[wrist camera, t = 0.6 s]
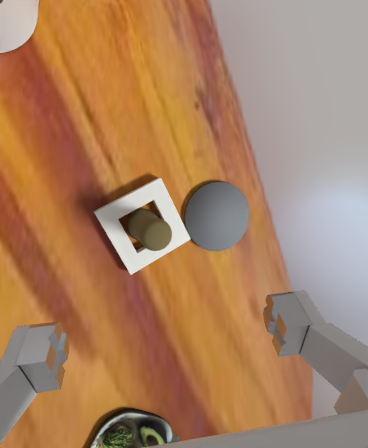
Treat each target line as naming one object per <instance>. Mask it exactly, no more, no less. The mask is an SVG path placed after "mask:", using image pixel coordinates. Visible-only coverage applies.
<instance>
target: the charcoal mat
mask: <svg viewBox="0 0 368 448" xmlns="http://www.w3.org/2000/svg"><path fill="white" fill-rule="evenodd" d="M248 222H249V206H248V203H247V200H246V198H245V196H244V195H243V193H242V192H241V191H240V190H239V189H238V188H237V187H235V186H234V185H231V184H229V183H225V182H213V183H209V184H206V185H204V186H202V187H201V188H199V189H198V190H197V191H196V192H195V193H194V194H193V195H192V197H191V198H190V200H189V202H188V204H187V207H186V211H185V226H186V229H187V232H188V234H189V236H190V238H191V239H192V240H193V241H194V242H195V243H196V244H197V245H198V246H200V247H202V248H204V249H206V250H209V251H222V250H226V249H228V248H230V247H232V246H233V245H235V244H236V243H237V242H238V241H239V240H240V239H241V238H242V236H243V235H244V233H245V231H246V229H247V226H248Z"/></svg>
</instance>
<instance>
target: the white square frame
mask: <svg viewBox="0 0 368 448" xmlns="http://www.w3.org/2000/svg"><path fill="white" fill-rule="evenodd" d="M151 201H153V203H154V205H155V207H156V209H157V211H158V213H159V215H160V217H161V219H163V220H164V221H166V222H167V223H168V224H169V225H170V228H171V230H172V238H171V242H170V243H169V245H168V246H167V247H166V248H164V249H162V250H160V251H151V250H148V249H147V248H145V247H144V246H143V247H141V248H139V249H138V250H135V248H134V247H133V245H132V243H131V241H130V240H129V238H128V236H127V234H126V232H125V231H124V229H123V227H122V225H121V224H120V222H119V220H118V219H119V218H121V217H123V216H125V215H127V214H129V213H130V212H132V211H134V210H136V209H138V208H140V207H141V206H143V205H145V204H147V203H149V202H151ZM94 213H95V215H96V217H97V218H98V220H99V222H100V223H101V225H102V227H103V228H104V230H105V232H106V234H107V235H108V237H109V239H110V240H111V242H112V244H113V245H114V247H115V249H116V251H117V252H118V254H119V256H120V257H121V259H122V261H123V262H124V264H125V266H126V268H127V269H128V271H129V273H130V274H133V273H135V272H137V271H138V270H140V269H142V268H143V267H145V266H147V265H148V264H150V263H152V262H153V261H155V260H157V259H158V258H160V257H162V256H163V255H165V254H167V253H168V252H170V251H172V250H173V249H175V248H177V247H178V246H180V245H182V244H183V243H185V242H187V241H188V240H190V237H189V235H188V232H187V230H186V228H185V226H184V224H183V222H182V220H181V218H180V216H179V214H178V212H177V210H176V208H175V206H174V204H173V202H172V200H171V198H170V196H169V193H168V191H167V189H166V187H165V185H164V183H163V181H162V179H161V178H156V179H154V180H153V181H151V182H149V183H147V184H145V185H143V186H141V187H139V188H137V189H135V190H133V191H131V192H130V193H128V194H126V195H124V196H122V197H120V198H118V199H116V200H114V201H112V202H110V203H109V204H107V205H105V206H103V207H101V208H99V209H97V210H95V211H94Z"/></svg>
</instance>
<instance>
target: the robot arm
mask: <svg viewBox="0 0 368 448" xmlns="http://www.w3.org/2000/svg"><path fill="white" fill-rule="evenodd" d="M38 5H39V0H0V53H4V52H8V51H11V50H14V49H16V48H18V47H20V46H21V45H22V44H24V43H25V42H26V41H27V40H28V39H29V38H30V36H31V35H32V33H33V31H34V29H35V27H36V23H37V19H38ZM266 303H267V306H266V307H265V308H264V312H263V316H264V322H265V326H266V328H267V331H268V332H269V333H270V334H272V335H273V339H272V343H273V345H274V347H275V349H276V352H277V354H278V356H279V357H281V356H290V355H298V354H300V356H301V357H302V358H303V359H304V360H305V361H306V362H307V363H308V364H310V365H311V366H312V367H313V368H314V369H315V370H316V371H317V372H318V373H319V374H321V375H322V376H323V377H324V378H325V379H326V380H327V381H328V382H329V383H331V384H332V385H333V386H334V387H335V388H336V389H337V390H338V391H339V392H341V394H340V396H339V398H338V400H337V402H336V403H335V406H334V408H335V410H336V412H337V414H338V415H334V416H328V417H323V418H316V419H310V420H304V421H298V422H292V423H286V424H280V425H274V426H269V427H263V428H257V429H251V430H245V431H239V432H233V433H227V434H221V435H215V436H209V437H203V438H197V439H191V440H185V441H179V442H173V443H167V444H161V445H155V446H149V447H144V448H368V347H367V346H366V345H364V344H363V343H361V342H360V341H358V340H356V339H355V338H353V337H352V336H350V335H348V334H347V333H345V332H344V331H342V330H341V329H339V328H337V327H336V326H334V325H333V324H331V323H326V321H325V320H324V319H323V317H322V315H321V314H320V312H319V311H318V309H317V308H316V306H315V305H314V303H313V301H312V300H311V298H310V297H309V295H308V294H307V292H306V291H304V290H302V291H294V292H284V293H277V294H270V295H267V297H266ZM62 330H63V326H62V324H61V322H53V323H43V324H34V325H25V326H18V327H17V328H16V329H15V330H14V332H13V334H12V336H11V339H10V341H9V343H8V346H7V348H6V350H5V353H4V355H3V357H2V360H1V362H0V444H1V442H2V441H3V440H4V438H5V437H6V436H7V434H8V433H9V432H10V430H11V429H12V428H13V426H14V425H15V424H16V422H17V421H18V419H19V418H20V417H21V415H22V414H23V413H24V411H25V410H26V409H27V407H28V406H29V405H30V403H31V402H32V401H33V399H34V398H35V396H36V395H37V393H40V392H45V391H51V390H57V389H61V385H62V381H63V377H64V372H65V370H64V368H63V366H62V365H63V364H64V363H65V361H66V360H67V359H68V354H69V341H68V337H67V335H66V334H65V333H63V332H62Z"/></svg>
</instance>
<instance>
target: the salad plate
mask: <svg viewBox="0 0 368 448" xmlns="http://www.w3.org/2000/svg"><path fill="white" fill-rule="evenodd" d="M178 440H179V436H175V435H174V434H173V432H172V429H171V426H170V424H169V423H168V422H167V421H166V420H165V419H163V418H162V417H160V416H158V415H155V414H153V413H149V412H146V411H142V410H138V409H128V410H123V411H120V412H118V413H116V414H114V415H113V416H111V417H110V418H108V419H107V420H106V421H105V422H104V424H103V425H102V426H101V427H100V428H99V430H98V431H97V433H96V436H95V439H94V441H93V443H92V444H91V446H90V448H98V447H99V445H100V444H101V447H102V448H103V447H104V448H144V447H149V446H155V445H161V444H167V443H173V442H178Z"/></svg>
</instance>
